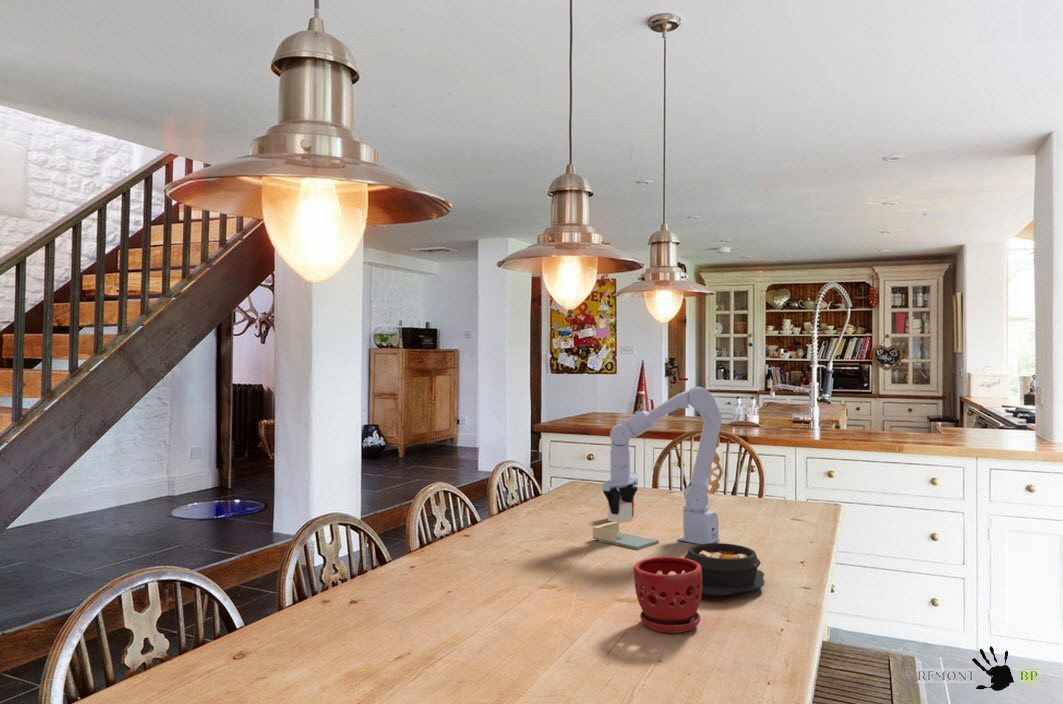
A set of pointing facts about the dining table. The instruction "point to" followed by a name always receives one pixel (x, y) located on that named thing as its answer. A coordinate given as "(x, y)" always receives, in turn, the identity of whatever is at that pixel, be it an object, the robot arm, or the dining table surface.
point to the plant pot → (669, 593)
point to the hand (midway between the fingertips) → (620, 512)
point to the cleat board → (620, 536)
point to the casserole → (726, 568)
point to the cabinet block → (621, 513)
